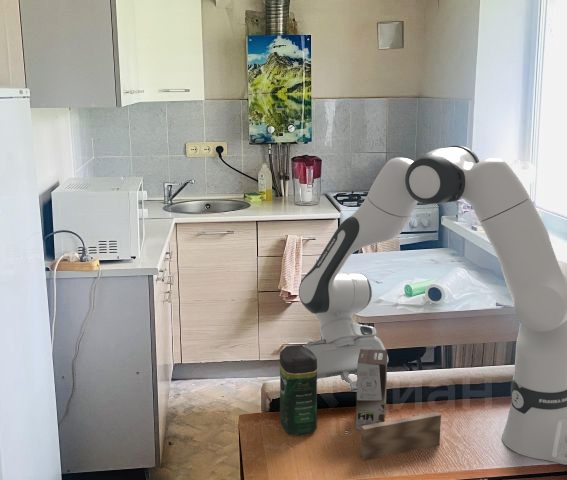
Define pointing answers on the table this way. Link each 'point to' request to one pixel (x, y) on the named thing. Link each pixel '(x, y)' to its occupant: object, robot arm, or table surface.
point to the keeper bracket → (400, 435)
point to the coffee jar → (298, 390)
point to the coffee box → (371, 387)
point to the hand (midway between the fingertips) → (356, 389)
